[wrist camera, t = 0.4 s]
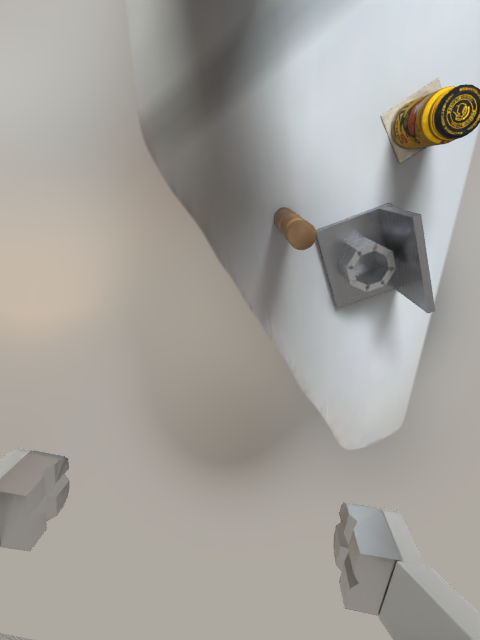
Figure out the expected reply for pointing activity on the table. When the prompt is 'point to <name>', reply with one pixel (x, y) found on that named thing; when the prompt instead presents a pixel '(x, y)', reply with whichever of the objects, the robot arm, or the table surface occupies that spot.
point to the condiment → (432, 118)
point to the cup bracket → (377, 256)
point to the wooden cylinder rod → (295, 229)
